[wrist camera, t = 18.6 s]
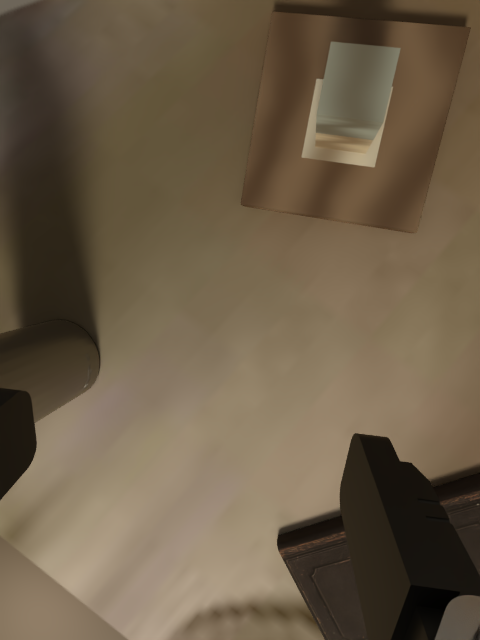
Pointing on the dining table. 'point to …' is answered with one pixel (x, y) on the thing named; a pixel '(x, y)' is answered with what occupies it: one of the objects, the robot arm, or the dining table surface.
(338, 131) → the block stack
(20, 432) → the robot arm
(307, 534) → the hardcover book
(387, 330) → the dining table surface
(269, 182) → the walnut board
